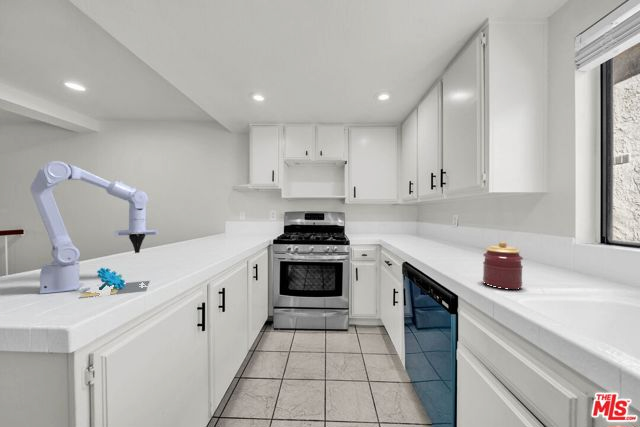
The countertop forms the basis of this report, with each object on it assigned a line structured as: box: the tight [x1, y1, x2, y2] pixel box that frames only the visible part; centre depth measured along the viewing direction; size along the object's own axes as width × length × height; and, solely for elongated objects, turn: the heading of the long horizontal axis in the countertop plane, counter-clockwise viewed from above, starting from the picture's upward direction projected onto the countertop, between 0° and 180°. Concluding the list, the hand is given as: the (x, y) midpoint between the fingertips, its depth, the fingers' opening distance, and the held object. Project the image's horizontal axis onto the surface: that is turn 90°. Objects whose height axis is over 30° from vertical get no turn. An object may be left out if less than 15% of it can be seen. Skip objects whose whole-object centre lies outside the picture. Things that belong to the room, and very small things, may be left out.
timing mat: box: [78, 280, 151, 300], centre depth 95 cm, size 18×15×1 cm
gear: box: [96, 267, 126, 290], centre depth 94 cm, size 11×6×10 cm
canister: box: [482, 240, 524, 289], centre depth 106 cm, size 13×13×18 cm
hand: (137, 252), depth 110 cm, fingers closed
